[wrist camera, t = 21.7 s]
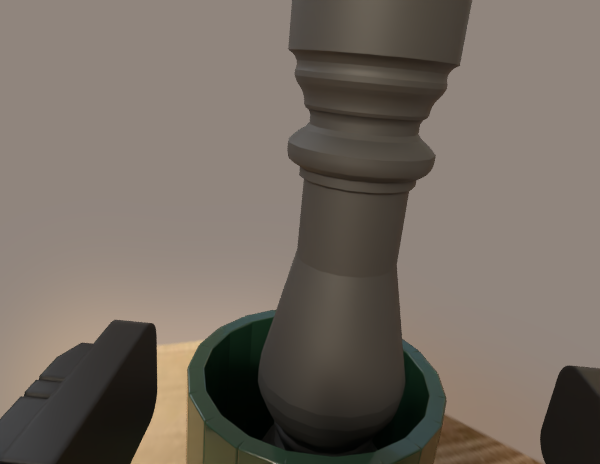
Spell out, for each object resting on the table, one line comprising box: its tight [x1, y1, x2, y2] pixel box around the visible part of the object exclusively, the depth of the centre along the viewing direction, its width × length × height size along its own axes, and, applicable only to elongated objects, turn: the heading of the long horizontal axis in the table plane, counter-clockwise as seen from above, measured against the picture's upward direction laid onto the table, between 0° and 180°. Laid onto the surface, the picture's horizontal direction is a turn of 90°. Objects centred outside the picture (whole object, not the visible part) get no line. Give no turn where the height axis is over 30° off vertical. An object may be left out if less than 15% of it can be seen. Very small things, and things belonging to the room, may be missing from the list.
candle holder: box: [258, 0, 472, 457], centre depth 19 cm, size 6×6×25 cm
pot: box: [186, 310, 446, 464], centre depth 22 cm, size 11×11×10 cm
